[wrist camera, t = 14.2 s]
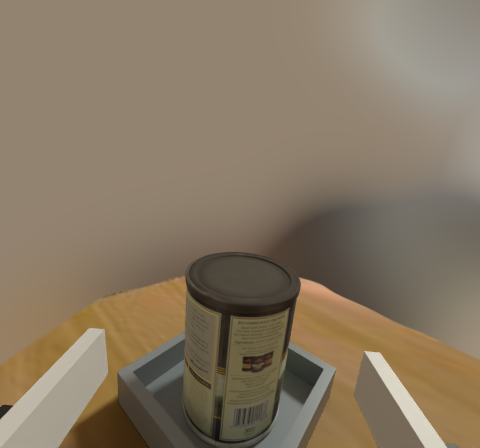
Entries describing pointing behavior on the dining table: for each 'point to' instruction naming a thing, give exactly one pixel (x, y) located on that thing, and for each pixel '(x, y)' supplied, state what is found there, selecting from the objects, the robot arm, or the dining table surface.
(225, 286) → the coffee can
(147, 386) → the tray
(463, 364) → the dining table surface
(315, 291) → the dining table surface
